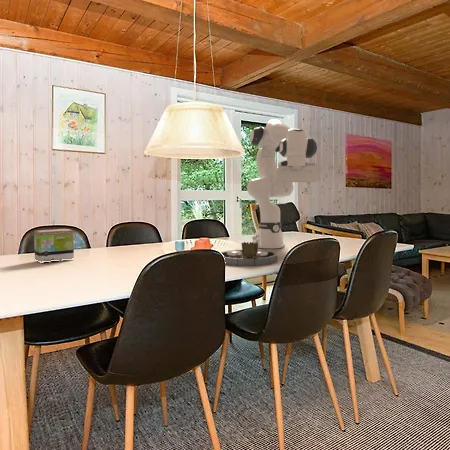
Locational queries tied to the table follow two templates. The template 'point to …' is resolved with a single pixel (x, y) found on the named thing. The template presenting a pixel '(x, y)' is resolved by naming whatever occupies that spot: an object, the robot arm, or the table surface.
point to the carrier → (240, 260)
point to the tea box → (53, 244)
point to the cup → (249, 249)
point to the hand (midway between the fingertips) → (296, 191)
